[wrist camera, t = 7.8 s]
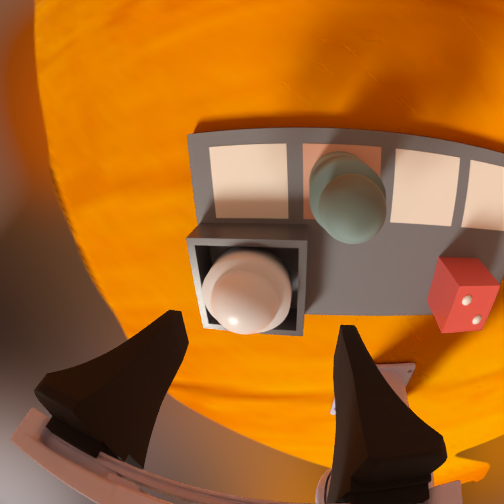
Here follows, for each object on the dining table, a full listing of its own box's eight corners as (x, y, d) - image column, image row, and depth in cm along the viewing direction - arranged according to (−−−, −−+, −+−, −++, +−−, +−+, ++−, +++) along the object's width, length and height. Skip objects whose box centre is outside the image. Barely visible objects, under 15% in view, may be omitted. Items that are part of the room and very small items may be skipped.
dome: (292, 315, 21) (286, 359, 17) (217, 310, 22) (199, 350, 18) (293, 245, 18) (287, 282, 14) (207, 243, 19) (181, 276, 15)
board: (485, 305, 20) (500, 329, 16) (214, 300, 25) (201, 327, 21) (521, 158, 13) (547, 169, 10) (192, 133, 18) (169, 138, 15)
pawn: (368, 213, 17) (396, 265, 11) (309, 211, 18) (308, 263, 12) (371, 152, 16) (408, 176, 10) (308, 150, 16) (309, 170, 10)
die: (463, 299, 19) (482, 330, 15) (426, 300, 20) (441, 334, 16) (477, 258, 17) (501, 285, 13) (438, 256, 18) (459, 286, 14)
